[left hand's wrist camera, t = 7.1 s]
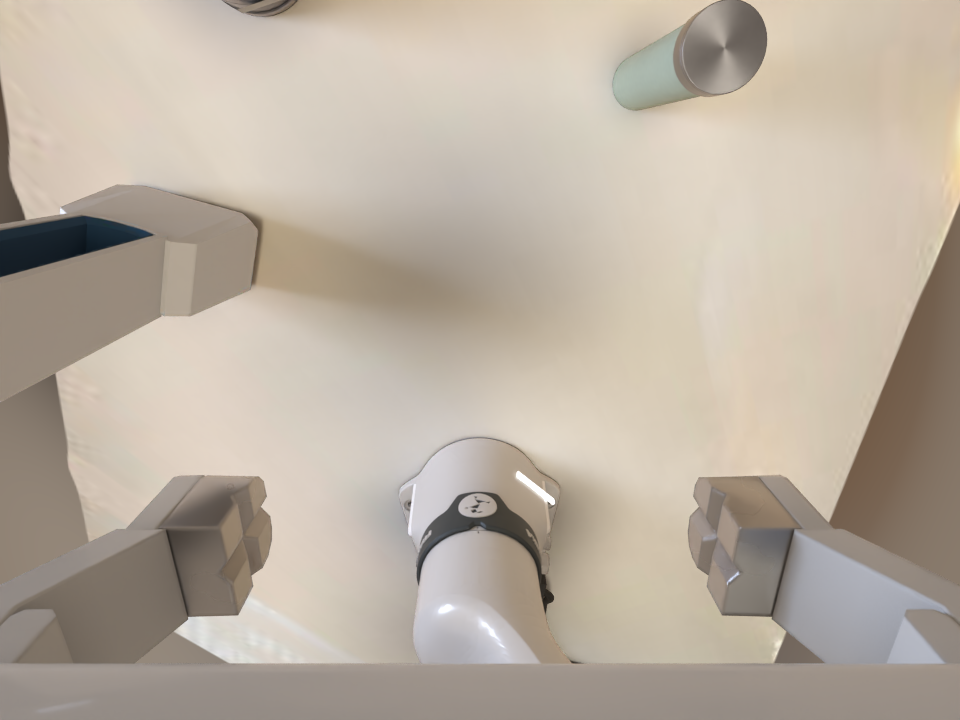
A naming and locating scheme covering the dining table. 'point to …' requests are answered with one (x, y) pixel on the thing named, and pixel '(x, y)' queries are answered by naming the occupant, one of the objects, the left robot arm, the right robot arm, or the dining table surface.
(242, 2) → the right robot arm
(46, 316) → the electronic device
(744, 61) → the lid
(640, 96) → the mint green cylinder
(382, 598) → the dining table surface
